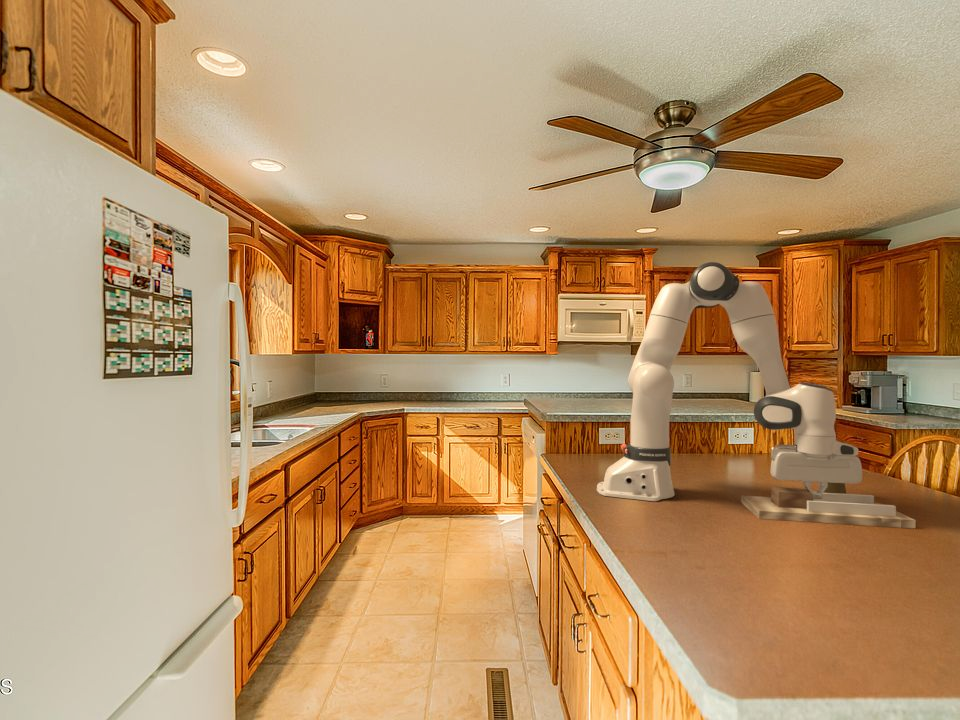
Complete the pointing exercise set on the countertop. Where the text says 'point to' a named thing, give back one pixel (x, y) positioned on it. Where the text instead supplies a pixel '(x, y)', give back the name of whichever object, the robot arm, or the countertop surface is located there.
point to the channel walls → (850, 505)
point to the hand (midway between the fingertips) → (814, 498)
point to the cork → (835, 488)
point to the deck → (821, 515)
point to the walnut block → (790, 497)
